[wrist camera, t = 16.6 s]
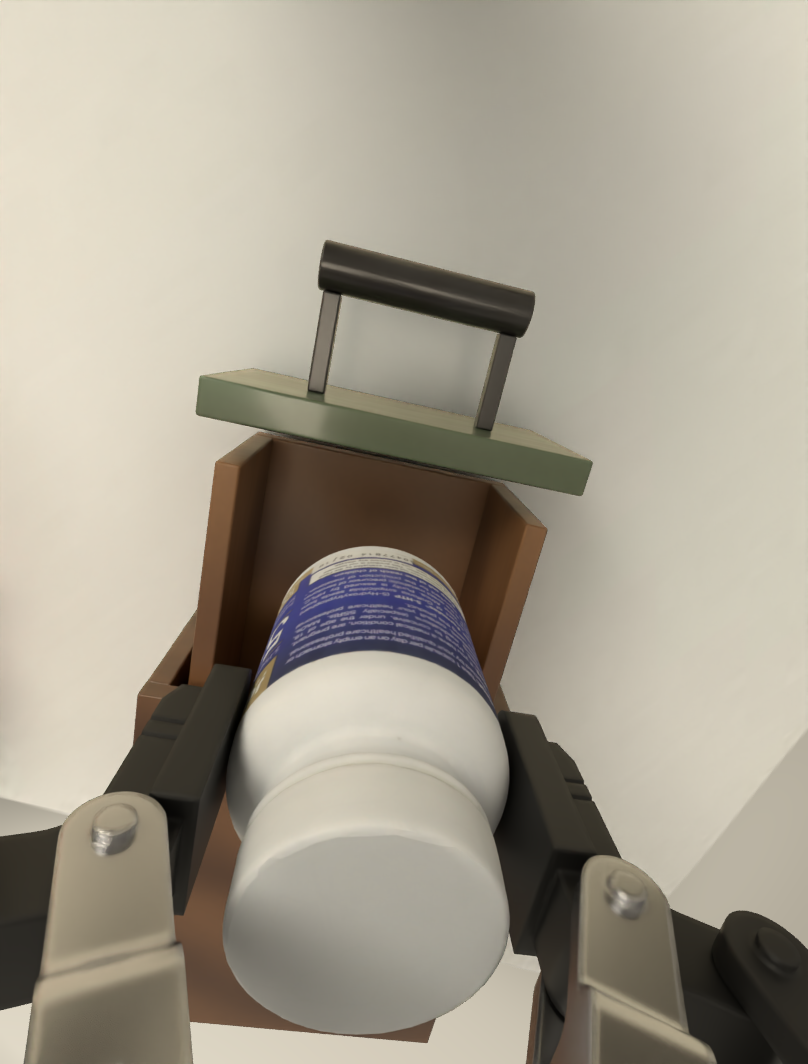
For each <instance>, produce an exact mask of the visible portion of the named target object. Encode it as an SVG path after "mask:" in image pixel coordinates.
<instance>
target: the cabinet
mask: <svg viewBox="0 0 808 1064" xmlns="http://www.w3.org/2000/svg"><path fill="white" fill-rule="evenodd" d="M196 616H197V610H196V611H195V613H194V614H193V616H192V617H191V619H190V620H189V622H188V623H187V625H186V626H185V627H184V629H183V630H182V632H181V633H180V635H179V636H178V638H177V639H176V641H175V642H174V643H173V645H172V646H171V648H170V649H169V651H168V652H167V654H166V655H165V657H164V658H163V659H162V661H161V662H160V664H159V665H158V667H157V668H156V670H155V671H154V673H153V674H152V675H151V677H150V678H149V680H148V681H147V682H146V684H145V685H144V686H143V688H142V689H141V691H140V692H139V694H138V697H137V708H136V719H135V730H134V741H133V745H134V743H135V742H136V740H137V738H138V737H139V735H141V733H142V730H143V729H144V727H145V725H146V724H147V722H148V720H150V719H151V715H152V714H153V712H154V711H155V709H156V707H157V706H158V704H159V702H160V701H161V699H162V698H163V697H164V696H166V695H167V694H169V693H170V692H171V691H173V690H174V689H176V688H177V687H179V686H180V685H182V684H186V685H188V681H189V673H190V665H191V657H192V649H193V640H194V632H195V624H196ZM493 705H494V708H495V711H496V714H498V713H499V711H501V710H504V711H510V710H509V707H508V705H507V702H506V699H505V697H504V694H503V691H502V689H501V686H500V684H499V688H498V691H497V694H496V697H495V700H494V704H493ZM240 845H241V840H240V838H239V836H238V835H237V833H236V831H235V829H234V826H233V823H232V820H231V816H230V813H229V810H228V804H227V799H226V791H225V794H224V797H223V800H222V803H221V806H220V809H219V812H218V815H217V818H216V821H215V824H214V827H213V830H212V833H211V836H210V839H209V842H208V845H207V848H206V851H205V854H204V857H203V860H202V863H201V865H200V868H199V871H198V874H197V877H196V880H195V883H194V886H193V889H192V892H191V895H190V898H189V901H188V904H187V907H186V910H185V913H184V916H180V915H174V927H175V937H176V942H178V941H181V943H182V946H183V952H184V959H185V970H186V982H187V994H188V1006H189V1018H190V1022H198V1023H210V1024H221V1025H233V1026H243V1027H254V1028H265V1029H276V1030H287V1031H299V1032H309V1033H320V1034H332V1035H343V1036H353V1037H365V1038H375V1039H386V1040H398V1041H409V1042H420V1043H428V1040H429V1036H430V1034H431V1031H432V1028H433V1025H434V1022H435V1019H436V1018H435V1019H433V1020H430V1021H428V1022H425V1023H422V1024H419V1025H416V1026H413V1027H410V1028H406V1029H401V1030H397V1031H392V1032H387V1033H380V1034H358V1035H355V1034H337V1033H331V1032H323V1031H318V1030H315V1029H311V1028H307V1027H304V1026H301V1025H298V1024H295V1023H292V1022H290V1021H288V1020H286V1019H283V1018H281V1017H280V1016H278V1015H277V1014H275V1013H273V1012H271V1011H270V1010H268V1009H266V1008H265V1007H263V1006H262V1005H261V1004H259V1003H258V1002H257V1001H255V1000H254V999H253V998H252V997H251V996H250V995H249V994H248V993H247V992H246V991H245V990H244V989H243V987H242V986H241V985H240V984H239V982H238V981H237V980H236V978H235V976H234V974H233V972H232V970H231V968H230V967H229V965H228V963H227V959H226V955H225V951H224V947H223V919H224V913H225V907H226V902H227V898H228V895H229V891H230V886H231V882H232V877H233V873H234V869H235V865H236V859H237V854H238V851H239V848H240Z"/></svg>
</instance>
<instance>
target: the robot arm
mask: <svg viewBox="0 0 808 1064" xmlns="http://www.w3.org/2000/svg"><path fill="white" fill-rule="evenodd" d="M251 673H252V670H251V669H248V668H242V667H235V666H229V665H223V664H217V663H216V664H215V665H214V666H213V668H212V670H211V672H210V674H209V676H208V678H207V680H206V682H205V684H204V686H203V687H199V686H193V685H186V684H182V685H180V686H179V687H177V688H176V689H174V690H173V691H171V692H170V693H169V694H167V695H166V696H164V697H163V698H162V699H161V701H160V702H159V704H158V706H157V707H156V709H155V711H154V712H153V714H152V715H151V719H150V720H148V722H147V724H146V725H145V727H144V729H143V730H142V733H141V735H139V737H138V738H137V740H136V742H135V743H134V745H133V747H132V748H131V750H130V752H129V753H128V755H127V756H126V758H125V760H124V761H123V763H122V765H121V766H120V768H119V770H118V771H117V773H116V775H115V776H114V778H113V779H112V781H111V783H110V784H109V786H108V788H107V789H106V791H105V793H104V794H103V795H102V796H98V797H96V798H94V799H91V800H89V801H88V802H86V803H84V804H82V805H81V806H80V807H78V808H77V809H76V810H74V811H73V812H72V813H71V814H70V815H69V816H68V818H67V819H66V820H65V822H64V823H63V825H60V826H58V827H54V828H51V829H48V830H43V831H37V832H31V833H24V834H16V835H9V836H1V837H0V1010H4V1009H8V1008H12V1007H16V1006H21V1005H25V1004H29V1003H32V1007H31V1015H30V1022H29V1030H28V1037H27V1044H26V1051H25V1058H24V1064H193V1055H192V1044H191V1031H190V1018H189V1006H188V994H187V982H186V970H185V959H184V952H183V946H182V943H181V941H178V942H176V937H175V927H174V915H180V916H184V913H185V910H186V907H187V904H188V901H189V898H190V895H191V892H192V889H193V886H194V883H195V880H196V877H197V874H198V871H199V868H200V865H201V863H202V860H203V857H204V854H205V851H206V848H207V845H208V842H209V839H210V836H211V833H212V830H213V827H214V824H215V821H216V818H217V815H218V812H219V809H220V806H221V803H222V800H223V797H224V794H225V791H226V773H227V764H228V760H229V755H230V750H231V747H232V743H233V739H234V735H235V732H236V729H237V726H238V723H239V721H240V718H241V715H242V713H243V710H244V707H245V705H246V702H247V699H248V694H249V688H250V681H251ZM497 717H498V720H499V723H500V727H501V731H502V735H503V738H504V742H505V746H506V749H507V754H508V761H509V789H508V796H507V800H506V804H505V808H504V811H503V814H502V817H501V819H500V822H499V824H498V826H497V828H496V830H495V832H494V834H493V837H494V841H495V844H496V848H497V852H498V856H499V861H500V865H501V870H502V875H503V880H504V885H505V890H506V895H507V899H508V905H509V913H510V927H509V933H510V938H511V942H512V946H513V951H514V954H521V955H530V956H537V958H538V961H539V965H540V969H541V972H540V975H539V977H538V979H537V982H536V984H535V988H534V994H533V1004H532V1013H531V1023H530V1032H529V1041H528V1050H527V1060H526V1064H808V949H807V948H806V947H805V946H804V945H803V944H802V943H801V942H800V941H799V940H798V939H797V938H795V937H794V936H793V935H792V934H791V933H789V932H788V931H787V930H786V929H784V928H783V927H781V926H780V925H778V924H777V923H775V922H773V921H772V920H770V919H768V918H766V917H764V916H762V915H759V914H756V913H753V912H749V911H735V912H732V913H730V914H729V915H728V916H727V918H726V919H725V922H724V923H723V925H722V927H721V929H717V928H715V927H712V926H710V925H707V924H705V923H703V922H700V921H698V920H695V919H693V918H690V917H688V916H686V915H683V914H681V913H679V912H676V911H674V910H672V909H670V906H669V904H668V901H667V899H666V897H665V895H664V894H663V892H662V891H661V889H660V888H659V887H658V885H657V884H656V883H655V882H654V881H653V880H652V879H651V878H650V877H649V876H648V875H647V874H646V873H645V872H643V871H642V870H641V869H639V868H638V867H636V866H635V865H633V864H631V863H629V862H627V861H625V860H623V859H622V858H621V856H620V854H619V852H618V850H617V848H616V846H615V844H614V842H613V840H612V838H611V836H610V834H609V831H608V829H607V827H606V825H605V823H604V821H603V819H602V817H601V815H600V813H599V811H598V809H597V807H596V805H595V803H594V802H593V801H592V797H591V794H590V792H589V790H588V788H587V786H586V785H584V780H583V778H582V776H581V774H580V772H579V770H578V768H577V766H576V764H575V762H574V760H573V759H572V758H571V757H570V756H569V755H568V754H567V753H566V752H565V751H564V750H563V749H562V748H561V747H560V746H559V745H558V744H557V743H553V742H548V741H547V739H546V737H545V734H544V732H543V730H542V728H541V725H540V723H539V721H538V719H537V717H536V716H534V715H529V714H523V713H517V712H510V711H504V710H501V711H499V713H498V714H497Z"/></svg>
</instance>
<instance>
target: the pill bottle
mask: <svg viewBox="0 0 808 1064" xmlns="http://www.w3.org/2000/svg"><path fill="white" fill-rule="evenodd" d="M508 789H509V761H508V754H507V749H506V746H505V742H504V738H503V735H502V731H501V727H500V723H499V720H498V717H497V714H496V711H495V708H494V705H493V702H492V699H491V696H490V693H489V690H488V687H487V684H486V681H485V678H484V675H483V672H482V669H481V667H480V664H479V661H478V658H477V655H476V652H475V649H474V645H473V642H472V639H471V636H470V633H469V630H468V627H467V624H466V620H465V617H464V614H463V611H462V608H461V606H460V604H459V602H458V599H457V597H456V595H455V593H454V591H453V589H452V588H451V586H450V585H449V584H448V582H447V581H446V580H445V579H444V577H443V576H442V575H441V574H440V573H439V572H438V571H437V570H436V569H434V568H433V567H432V566H431V565H429V564H428V563H426V562H425V561H423V560H422V559H420V558H418V557H416V556H414V555H412V554H409V553H407V552H404V551H401V550H397V549H393V548H388V547H378V546H362V547H354V548H349V549H345V550H342V551H338V552H336V553H333V554H330V555H328V556H326V557H324V558H322V559H321V560H319V561H317V562H316V563H314V564H313V565H312V566H310V567H309V568H308V569H306V570H305V571H304V572H303V573H302V574H301V575H300V576H299V577H298V578H297V579H296V581H295V582H294V583H293V584H292V586H291V587H290V589H289V590H288V592H287V594H286V596H285V597H284V600H283V602H282V605H281V607H280V610H279V612H278V615H277V618H276V621H275V623H274V626H273V629H272V632H271V635H270V637H269V640H268V643H267V646H266V649H265V652H264V655H263V657H262V659H261V662H260V665H259V668H258V671H257V674H256V677H255V679H254V682H253V685H252V688H251V691H250V693H249V696H248V699H247V702H246V705H245V707H244V710H243V713H242V715H241V718H240V721H239V723H238V726H237V729H236V732H235V735H234V739H233V743H232V747H231V750H230V755H229V760H228V764H227V773H226V799H227V804H228V810H229V813H230V816H231V820H232V823H233V826H234V829H235V831H236V833H237V835H238V836H239V838H240V840H241V845H240V848H239V851H238V854H237V859H236V865H235V869H234V873H233V877H232V882H231V886H230V891H229V895H228V898H227V902H226V907H225V913H224V919H223V947H224V951H225V955H226V959H227V963H228V965H229V967H230V968H231V970H232V972H233V974H234V976H235V978H236V980H237V981H238V982H239V984H240V985H241V986H242V987H243V989H244V990H245V991H246V992H247V993H248V994H249V995H250V996H251V997H252V998H253V999H254V1000H255V1001H257V1002H258V1003H259V1004H261V1005H262V1006H263V1007H265V1008H266V1009H268V1010H270V1011H271V1012H273V1013H275V1014H277V1015H278V1016H280V1017H281V1018H283V1019H286V1020H288V1021H290V1022H292V1023H295V1024H298V1025H301V1026H304V1027H307V1028H311V1029H315V1030H318V1031H323V1032H331V1033H337V1034H355V1035H358V1034H380V1033H387V1032H392V1031H397V1030H401V1029H406V1028H410V1027H413V1026H416V1025H419V1024H422V1023H425V1022H428V1021H430V1020H433V1019H435V1018H438V1017H440V1016H442V1015H444V1014H446V1013H448V1012H450V1011H452V1010H454V1009H455V1008H457V1007H458V1006H460V1005H461V1004H463V1003H464V1002H466V1001H467V1000H468V999H469V998H471V997H472V996H473V995H474V994H475V993H476V992H477V991H478V990H479V989H480V988H481V987H482V986H483V985H485V983H486V982H487V981H488V979H489V978H490V977H491V975H492V974H493V973H494V971H495V969H496V967H497V966H498V964H499V962H500V960H501V958H502V956H503V954H504V951H505V948H506V945H507V940H508V934H509V927H510V913H509V905H508V899H507V895H506V890H505V885H504V880H503V875H502V870H501V865H500V861H499V856H498V852H497V848H496V844H495V841H494V837H493V834H494V832H495V830H496V828H497V826H498V824H499V822H500V819H501V817H502V814H503V811H504V808H505V804H506V800H507V796H508Z"/></svg>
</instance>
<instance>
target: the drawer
mask: <svg viewBox="0 0 808 1064" xmlns="http://www.w3.org/2000/svg"><path fill="white" fill-rule="evenodd" d="M318 288H319V289H320V290H323V291H324V292H323V297H322V303H321V309H320V315H319V321H318V327H317V333H316V339H315V345H314V351H313V357H312V363H311V369H310V375H309V381H308V380H304V379H299V378H295V377H290V376H286V375H281V374H277V373H272V372H268V371H263V370H259V369H254V368H251V369H244V370H237V371H230V372H223V373H216V374H209V375H202V376H200V378H199V386H198V395H197V404H196V414H197V415H198V416H203V417H207V418H212V419H217V420H221V421H226V422H231V423H236V424H240V425H245V426H250V427H255V428H259V429H264V430H269V431H274V432H278V433H283V434H288V435H292V436H297V437H302V438H307V439H311V440H316V441H321V442H326V443H330V444H335V445H340V446H345V447H349V448H354V449H359V450H363V451H368V452H373V453H378V454H382V455H387V456H392V457H397V458H401V459H406V460H411V461H415V462H420V463H425V464H430V465H434V466H439V467H444V468H449V469H453V470H458V471H463V472H468V473H472V474H477V475H482V476H486V477H491V478H496V479H501V480H505V481H510V482H515V483H520V484H524V485H529V486H534V487H539V488H543V489H548V490H553V491H557V492H562V493H567V494H572V495H576V496H582V495H583V492H584V489H585V486H586V483H587V480H588V477H589V474H590V471H591V468H592V465H593V462H592V461H591V460H589V459H587V458H585V457H583V456H581V455H579V454H577V453H575V452H573V451H571V450H569V449H567V448H565V447H563V446H561V445H559V444H557V443H555V442H553V441H551V440H549V439H548V438H546V437H544V436H542V435H540V434H538V433H536V432H534V431H532V430H528V429H523V428H519V427H514V426H510V425H505V424H501V423H496V422H495V418H496V414H497V410H498V407H499V403H500V399H501V395H502V392H503V388H504V384H505V380H506V377H507V373H508V369H509V365H510V362H511V358H512V354H513V350H514V347H515V343H516V339H517V338H521V337H523V335H524V334H525V332H526V331H527V329H528V326H529V324H530V321H531V318H532V315H533V311H534V305H535V294H534V292H532V291H528V290H524V289H520V288H516V287H512V286H508V285H504V284H500V283H496V282H492V281H488V280H484V279H480V278H476V277H472V276H469V275H465V274H461V273H457V272H453V271H449V270H445V269H441V268H437V267H433V266H429V265H425V264H421V263H417V262H413V261H409V260H405V259H401V258H397V257H393V256H389V255H385V254H381V253H378V252H374V251H370V250H366V249H362V248H358V247H354V246H350V245H346V244H342V243H338V242H334V241H330V240H326V241H325V243H324V246H323V250H322V254H321V260H320V266H319V274H318ZM341 295H344V296H348V297H352V298H356V299H360V300H364V301H368V302H372V303H377V304H381V305H385V306H389V307H393V308H397V309H401V310H405V311H410V312H414V313H418V314H422V315H426V316H430V317H434V318H438V319H443V320H447V321H451V322H455V323H459V324H463V325H467V326H472V327H476V328H480V329H484V330H488V331H492V332H496V333H500V334H497V336H496V340H495V344H494V348H493V352H492V356H491V359H490V363H489V367H488V371H487V375H486V379H485V383H484V387H483V391H482V395H481V399H480V402H479V406H478V410H477V414H476V418H474V417H469V416H465V415H460V414H456V413H451V412H447V411H442V410H438V409H433V408H429V407H424V406H420V405H416V404H411V403H407V402H402V401H398V400H393V399H389V398H384V397H380V396H375V395H371V394H366V393H362V392H357V391H353V390H348V389H344V388H339V387H335V386H330V385H327V382H328V376H329V371H330V365H331V359H332V353H333V348H334V342H335V336H336V331H337V325H338V319H339V313H340V308H341V302H342V296H341ZM516 337H517V338H516ZM546 534H547V528H546V527H545V526H544V525H543V524H542V523H541V522H540V521H539V520H538V519H537V518H536V516H535V515H534V514H533V513H532V512H531V511H530V510H529V509H528V508H527V507H526V506H525V505H524V504H523V503H522V502H521V501H520V500H519V499H518V498H517V497H516V496H515V495H514V494H513V493H512V492H511V491H510V490H509V489H508V488H507V487H506V486H505V485H504V484H503V483H500V482H495V481H490V480H486V479H481V478H476V477H471V476H467V475H462V474H457V473H452V472H448V471H443V470H438V469H434V468H429V467H424V466H419V465H415V464H410V463H405V462H400V461H396V460H391V459H386V458H381V457H377V456H372V455H367V454H362V453H358V452H353V451H348V450H343V449H339V448H334V447H329V446H324V445H320V444H315V443H310V442H305V441H301V440H296V439H291V438H286V437H282V436H277V435H272V434H267V433H263V432H258V433H256V434H255V435H253V436H252V437H251V438H249V439H248V440H246V441H245V442H243V443H242V444H241V445H239V446H238V447H236V448H235V449H233V450H232V451H231V452H229V453H228V454H226V455H225V456H223V457H222V458H221V459H219V460H218V461H216V463H215V469H214V477H213V485H212V493H211V502H210V510H209V518H208V526H207V534H206V542H205V551H204V559H203V567H202V575H201V583H200V591H199V600H198V608H197V616H196V624H195V632H194V640H193V649H192V657H191V665H190V673H189V681H188V685H193V686H199V687H203V686H204V684H205V682H206V680H207V678H208V676H209V674H210V672H211V670H212V668H213V666H214V665H215V664H216V663H217V664H223V665H229V666H235V667H242V668H248V669H251V670H252V673H251V681H250V688H249V693H250V691H251V688H252V685H253V682H254V679H255V677H256V674H257V671H258V668H259V665H260V662H261V659H262V657H263V655H264V652H265V649H266V646H267V643H268V640H269V637H270V635H271V632H272V629H273V626H274V623H275V621H276V618H277V615H278V612H279V610H280V607H281V605H282V602H283V600H284V597H285V596H286V594H287V592H288V590H289V589H290V587H291V586H292V584H293V583H294V582H295V581H296V579H297V578H298V577H299V576H300V575H301V574H302V573H303V572H304V571H305V570H306V569H308V568H309V567H310V566H312V565H313V564H314V563H316V562H317V561H319V560H321V559H322V558H324V557H326V556H328V555H330V554H333V553H336V552H338V551H342V550H345V549H349V548H354V547H362V546H378V547H388V548H393V549H397V550H401V551H404V552H407V553H409V554H412V555H414V556H416V557H418V558H420V559H422V560H423V561H425V562H426V563H428V564H429V565H431V566H432V567H433V568H434V569H436V570H437V571H438V572H439V573H440V574H441V575H442V576H443V577H444V579H445V580H446V581H447V582H448V584H449V585H450V586H451V588H452V589H453V591H454V593H455V595H456V597H457V599H458V602H459V604H460V606H461V608H462V611H463V614H464V617H465V620H466V624H467V627H468V630H469V633H470V636H471V639H472V642H473V645H474V649H475V652H476V655H477V658H478V661H479V664H480V667H481V669H482V672H483V675H484V678H485V681H486V684H487V687H488V690H489V693H490V696H491V699H492V702H493V704H494V700H495V697H496V694H497V691H498V688H499V684H500V681H501V678H502V675H503V671H504V668H505V665H506V662H507V659H508V655H509V652H510V649H511V646H512V643H513V639H514V636H515V633H516V630H517V627H518V623H519V620H520V617H521V614H522V611H523V607H524V604H525V601H526V598H527V595H528V591H529V588H530V585H531V582H532V579H533V575H534V572H535V569H536V566H537V563H538V559H539V556H540V553H541V550H542V547H543V543H544V540H545V537H546ZM248 696H249V694H248Z"/></svg>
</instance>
